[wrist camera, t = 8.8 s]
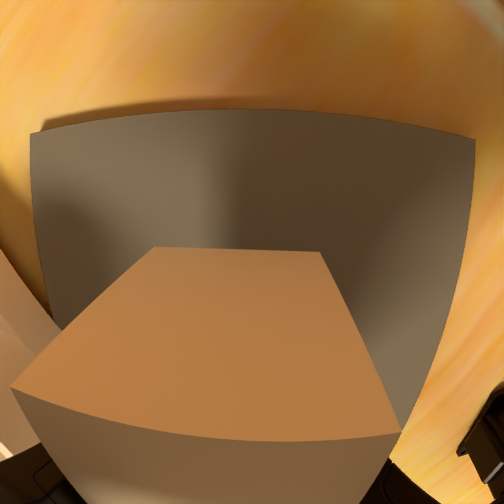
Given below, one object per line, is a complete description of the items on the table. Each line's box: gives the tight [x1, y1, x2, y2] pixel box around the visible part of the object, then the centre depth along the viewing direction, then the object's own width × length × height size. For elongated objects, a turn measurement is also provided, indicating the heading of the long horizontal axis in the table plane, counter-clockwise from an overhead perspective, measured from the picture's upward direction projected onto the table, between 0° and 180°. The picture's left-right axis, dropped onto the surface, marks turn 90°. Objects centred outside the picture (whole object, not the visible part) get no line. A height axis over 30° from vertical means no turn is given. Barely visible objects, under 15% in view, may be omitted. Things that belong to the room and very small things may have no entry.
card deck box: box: [10, 247, 402, 504], centre depth 7 cm, size 8×4×6 cm, turn 179°
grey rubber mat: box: [30, 109, 475, 431], centre depth 12 cm, size 18×16×1 cm
